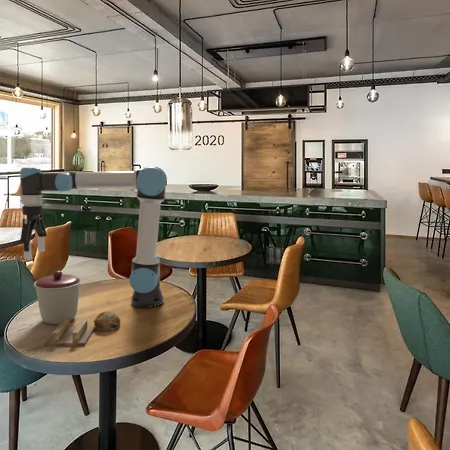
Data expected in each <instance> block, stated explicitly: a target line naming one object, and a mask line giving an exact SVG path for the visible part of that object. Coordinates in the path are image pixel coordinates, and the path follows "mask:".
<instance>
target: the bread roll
mask: <svg viewBox="0 0 450 450" xmlns="http://www.w3.org/2000/svg"><path fill="white" fill-rule="evenodd" d="M93 325H94V326H93V327H95V329H96V330H98V331H101V332H108V331H110V332H111V331H114V330H116V329H117V328H119V327H120V326H121V319H120V317H119V316H118V314H117V313H115V312H113V311H103V312H101V313H99V314H97V316H95V318H94V320H93Z"/></svg>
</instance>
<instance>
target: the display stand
mask: <svg viewBox="0 0 450 450" xmlns="http://www.w3.org/2000/svg"><path fill="white" fill-rule="evenodd" d="M95 329H96V328H95V326H88V319H81V321H80V322H79V323H78V324H77V326H70V321H69V320H63V321H62V322H61V323H60V324H58V326H57V327H56V328H55V330H53V332H52V334H51V335H50V336H49V337H48V338H47V340H45V342H44V346H45V347H51V346H52V347H54V346H55V347H56V346H57V347H59V346H60V347H61V346H66V347H69V346H70V347H71V346H73V347H75V346H77V347H78V346H80V347H81V346H84V347H85V345H86V344H87V343H88V341H89V340H90V338H91V336H92V334H93V333H94V331H95Z"/></svg>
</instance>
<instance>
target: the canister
mask: <svg viewBox="0 0 450 450" xmlns="http://www.w3.org/2000/svg"><path fill="white" fill-rule="evenodd" d="M81 283H82V279H81V278H80V277H78V276H76V275H73V274H67V273H66V274H65V273H63V272H62V271H61V270H55V271H54V272H53V273H52V275H47V276H43V277H41V278H39V279H37V280H36V281H34V283H33V287H34V288H35V291H36V299H37V302H38V303H37V304H38V308H39V314H40V317H41V320H42V321H43V322H44V323H46V324H49V325H60V323H61V322H62V321H63V320H69V322H72V321H73V320H74V319H75V318H76V316H77V313H78V305H79V295H80V284H81Z"/></svg>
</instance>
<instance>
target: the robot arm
mask: <svg viewBox="0 0 450 450" xmlns="http://www.w3.org/2000/svg"><path fill="white" fill-rule="evenodd" d="M19 174H20V177H19V180H20V190H21V197H20V199H21V204H22V206H21V208H22V209H21V210H22V215H24V216H26V218H23V219H22V228H21V231H20V232H21V233H20V239H19V240H20V241H19V242H20V244H23V246H22V247H23V259H24V260H32V259H33V256H32V242H31V240H32V235H33V231H35V232H36V234H37V237H36V240H37V251H38V252H37V253H39V252H40V253H41V252H43V253H44V252H46V247H45V246H46V245H45V244H46V243H45V237H47V230H46V226H45V223H44V218H43V193H42V192H46V191H47V192H49V191H50V192H62V193H63V192H69V191H71V190H81V189H82V190H85V189H86V190H88V189H89V190H90V189H94V190H95V189H98V190H99V189H135V190H136V198H137V199H138V201H139V213H138V227H137V238H136V239H137V242H136V251H135V252H136V254H135V257H133V258H132V260H131V274H130V276H129V279H128V280H129V285H130V287H131V288H132V289H133V293H132V295H131V298H130V301H131V302H130V303H131V305H132V306H134V307H137V308H142V307H149V308H151V307H150V306H155V305H158V304H160V303H162V302H163V303H164V295H163V291H162V288H161V285H160V284H161V283H160V282H161V258H160V256H159V255H157V250H158V239H159V238H158V237H159V229H160V228H159V226H160V216H161V215H160V214H161V213H160V212H161V203H162V202H164V201H165V199H166V187H167V182H168V180H167V179H168V177H167V174H166V172H165V171H164V170H163V169H162V168H161V167H158V166H146V167H143V168H136V169H134V170H132V171H129V170H128V171H125V170H124V171H73V172H72V171H64V172H63V171H62V172H42V171H41V168H40V167H22V168H21V169H20V173H19ZM163 303H162V304H163Z"/></svg>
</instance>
